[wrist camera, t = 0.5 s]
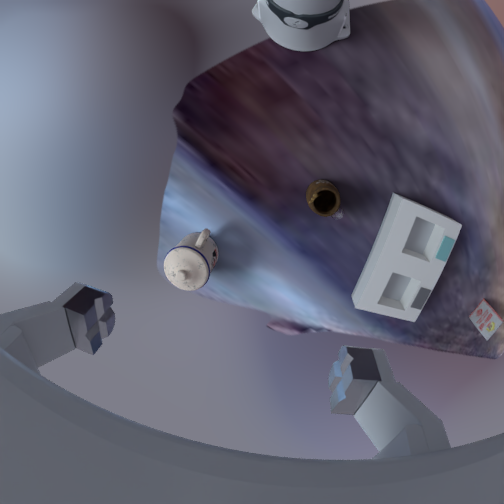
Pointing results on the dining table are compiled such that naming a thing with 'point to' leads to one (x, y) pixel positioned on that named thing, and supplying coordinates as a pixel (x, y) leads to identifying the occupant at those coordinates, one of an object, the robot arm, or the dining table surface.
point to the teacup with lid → (191, 261)
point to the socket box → (405, 259)
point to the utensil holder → (323, 198)
